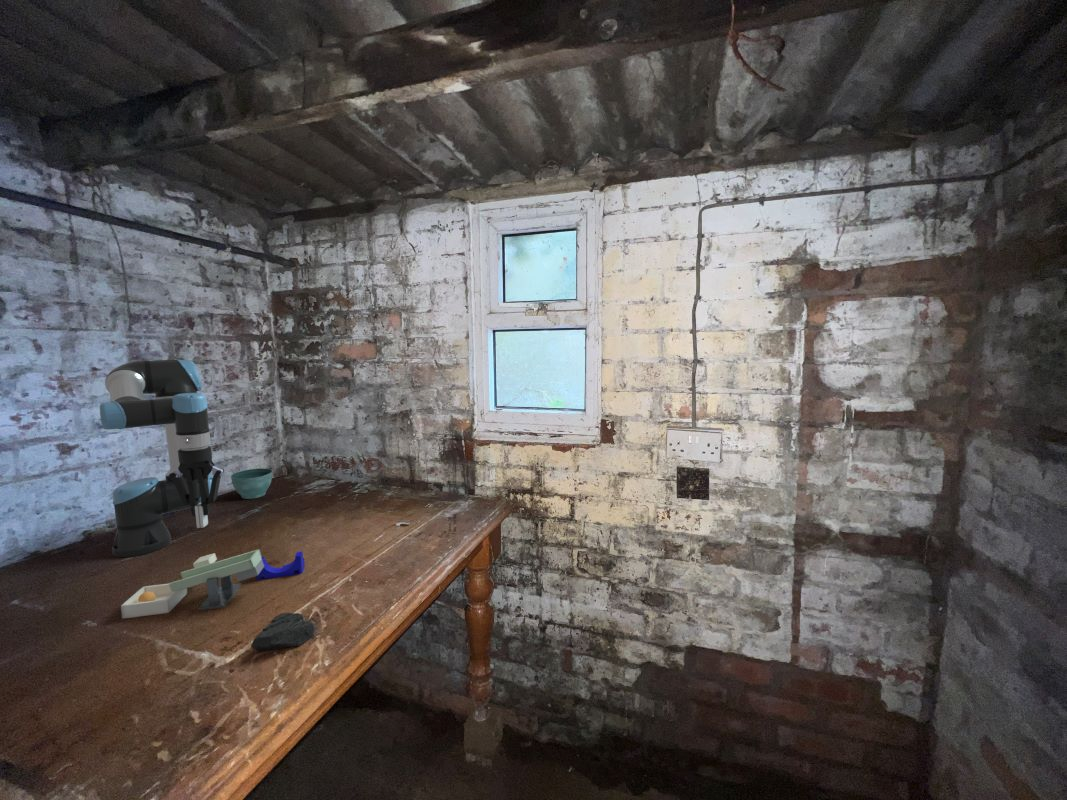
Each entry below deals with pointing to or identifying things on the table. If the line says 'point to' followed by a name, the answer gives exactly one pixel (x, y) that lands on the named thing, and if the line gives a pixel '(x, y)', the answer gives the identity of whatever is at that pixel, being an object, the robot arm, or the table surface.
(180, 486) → the robot arm
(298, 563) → the cable clip
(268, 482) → the flower pot
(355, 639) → the table surface
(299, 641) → the rock
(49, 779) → the table surface
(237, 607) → the table surface
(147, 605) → the open white tray
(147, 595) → the ball
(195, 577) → the lever
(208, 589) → the pivot stand
